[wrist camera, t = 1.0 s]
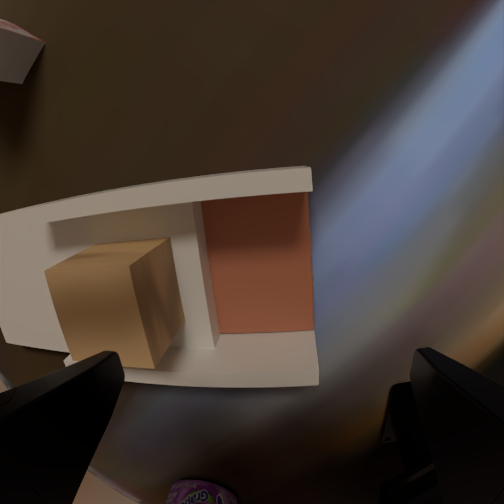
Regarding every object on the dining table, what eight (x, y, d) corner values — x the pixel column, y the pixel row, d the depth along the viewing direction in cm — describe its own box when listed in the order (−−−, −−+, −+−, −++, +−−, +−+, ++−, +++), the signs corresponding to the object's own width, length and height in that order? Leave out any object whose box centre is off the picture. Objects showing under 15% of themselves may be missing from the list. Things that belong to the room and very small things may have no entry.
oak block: (185, 320, 19) (154, 368, 14) (113, 319, 19) (72, 360, 14) (170, 236, 17) (129, 266, 12) (95, 243, 18) (44, 270, 13)
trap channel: (314, 342, 20) (318, 385, 16) (19, 332, 24) (-11, 355, 19) (305, 165, 17) (310, 167, 13) (-13, 217, 21) (-49, 229, 16)
